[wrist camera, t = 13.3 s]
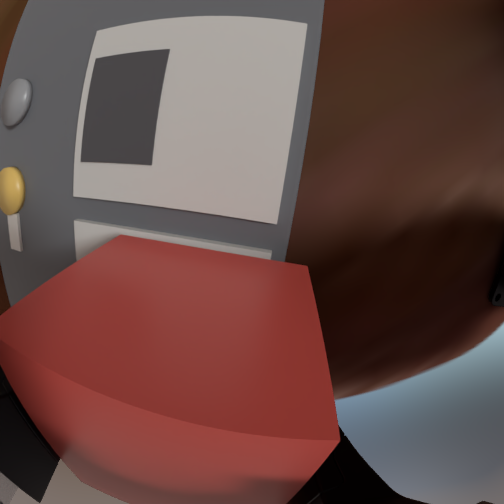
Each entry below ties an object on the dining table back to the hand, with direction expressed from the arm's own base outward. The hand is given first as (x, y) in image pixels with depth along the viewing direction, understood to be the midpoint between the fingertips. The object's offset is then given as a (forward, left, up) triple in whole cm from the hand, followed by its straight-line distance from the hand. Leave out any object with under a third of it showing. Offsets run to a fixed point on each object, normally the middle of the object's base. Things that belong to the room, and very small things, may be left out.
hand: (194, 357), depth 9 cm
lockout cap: (0, 0, -1) cm, 1 cm away
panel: (+6, -7, -4) cm, 10 cm away
